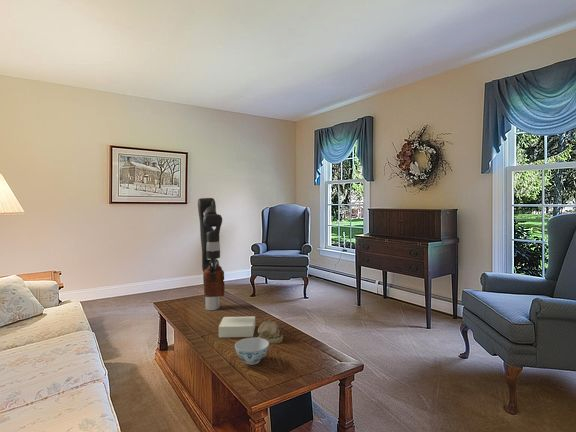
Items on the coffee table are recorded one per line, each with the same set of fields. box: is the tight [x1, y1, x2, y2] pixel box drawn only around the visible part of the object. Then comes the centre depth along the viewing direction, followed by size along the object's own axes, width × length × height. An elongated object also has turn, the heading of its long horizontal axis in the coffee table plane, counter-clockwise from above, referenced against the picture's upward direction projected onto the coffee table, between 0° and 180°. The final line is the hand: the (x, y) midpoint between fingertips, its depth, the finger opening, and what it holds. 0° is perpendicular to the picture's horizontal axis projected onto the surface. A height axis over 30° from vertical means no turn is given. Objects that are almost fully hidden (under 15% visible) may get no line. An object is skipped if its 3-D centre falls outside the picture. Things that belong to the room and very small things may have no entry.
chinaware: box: [234, 337, 270, 366], centre depth 149 cm, size 15×15×8 cm
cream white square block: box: [218, 315, 256, 338], centre depth 185 cm, size 16×18×6 cm
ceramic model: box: [256, 319, 284, 344], centre depth 174 cm, size 14×11×10 cm
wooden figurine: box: [202, 264, 225, 298], centre depth 191 cm, size 12×6×18 cm, turn 98°
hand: (213, 279), depth 191 cm, fingers closed on wooden figurine, 6 cm apart
